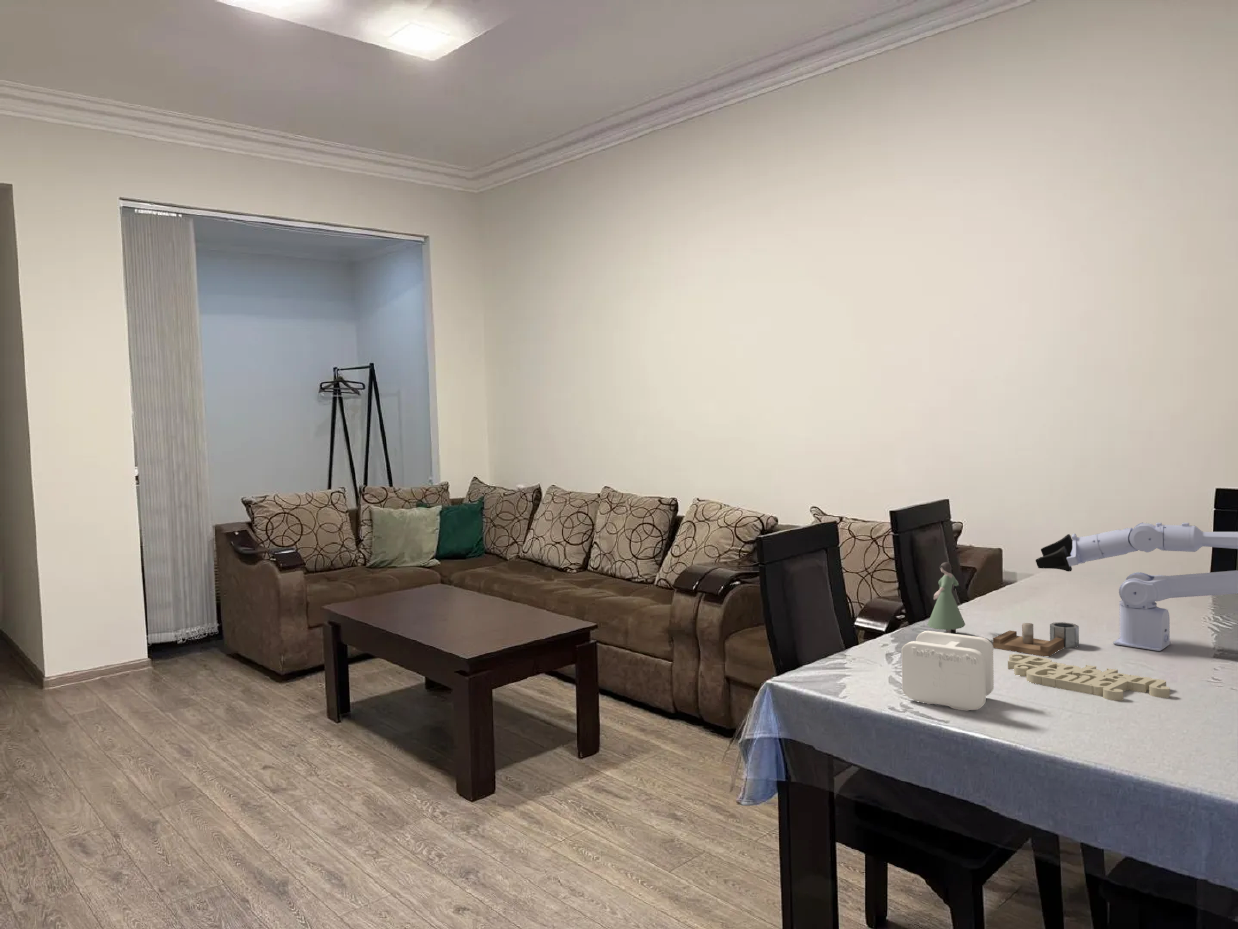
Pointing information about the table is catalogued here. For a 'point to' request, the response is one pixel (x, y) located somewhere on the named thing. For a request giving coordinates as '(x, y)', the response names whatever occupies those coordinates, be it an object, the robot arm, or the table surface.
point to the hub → (1065, 633)
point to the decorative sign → (1084, 678)
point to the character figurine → (946, 603)
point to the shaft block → (1027, 642)
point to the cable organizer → (948, 670)
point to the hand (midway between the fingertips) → (1039, 558)
